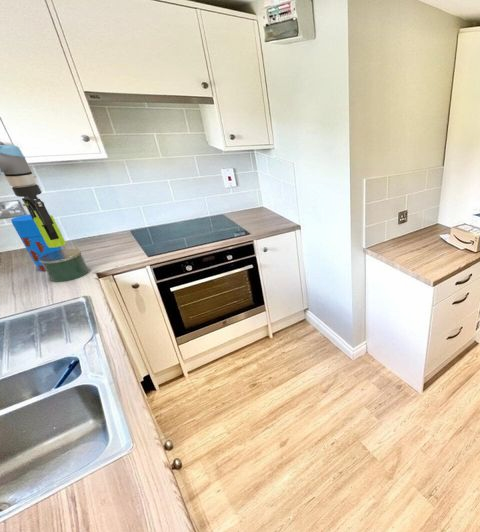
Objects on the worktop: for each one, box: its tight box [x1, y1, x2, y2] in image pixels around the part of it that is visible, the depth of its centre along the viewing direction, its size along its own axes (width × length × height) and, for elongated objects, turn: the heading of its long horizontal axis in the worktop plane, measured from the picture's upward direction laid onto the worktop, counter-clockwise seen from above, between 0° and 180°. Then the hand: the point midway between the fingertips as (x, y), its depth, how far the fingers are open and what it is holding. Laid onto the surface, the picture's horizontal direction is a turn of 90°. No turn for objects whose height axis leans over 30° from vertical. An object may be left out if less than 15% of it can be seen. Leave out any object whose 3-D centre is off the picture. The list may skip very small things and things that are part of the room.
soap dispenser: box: [22, 203, 67, 248], centre depth 139 cm, size 6×7×20 cm
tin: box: [39, 248, 90, 283], centre depth 148 cm, size 14×14×10 cm
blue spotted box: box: [10, 214, 63, 272], centre depth 152 cm, size 11×11×25 cm
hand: (51, 237), depth 142 cm, fingers closed on soap dispenser, 6 cm apart
